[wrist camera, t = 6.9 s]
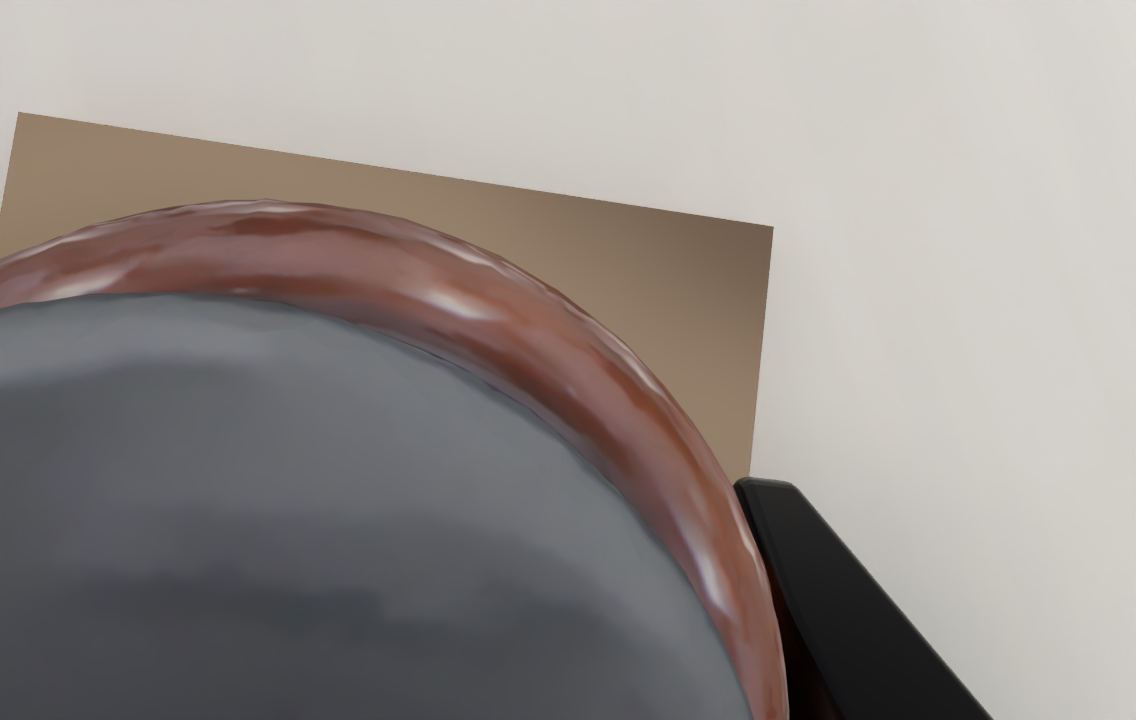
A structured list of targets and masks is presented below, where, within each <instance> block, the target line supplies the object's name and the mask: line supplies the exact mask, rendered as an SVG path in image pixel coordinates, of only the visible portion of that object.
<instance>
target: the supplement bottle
mask: <svg viewBox="0 0 1136 720" xmlns="http://www.w3.org/2000/svg"><path fill="white" fill-rule="evenodd" d="M0 720H789V703H788V692H787V681H786V670H785V662H784V655H783V648H782V641H781V635H780V630H779V625H778V620H777V617H776V613H775V610H774V606H773V600H772V594H771V588H770V582H769V579H768V576H767V572H766V569H765V565H764V562H763V560H762V557H761V555H760V552H759V550H758V548H757V545H756V543H755V540H754V538H753V536H752V533H751V531H750V528H749V526H748V523H747V520H746V518H745V515H744V513H743V510H742V508H741V505H740V503H739V500H738V498H737V495H736V493H735V490H734V488H733V486H732V485H731V483H730V481H729V479H728V478H727V476H726V474H725V473H724V471H723V469H722V468H721V466H720V464H719V463H718V461H717V459H716V458H715V456H714V454H713V452H712V450H711V449H710V447H709V446H708V444H707V443H706V441H705V440H704V438H703V436H702V435H701V433H700V432H699V430H698V429H697V427H696V426H695V424H694V423H693V422H692V420H691V419H690V418H689V416H688V415H687V414H686V413H685V411H684V410H683V409H682V407H681V406H680V405H679V404H678V402H677V401H676V400H675V399H674V397H673V396H672V395H671V393H670V392H669V391H668V390H667V388H666V387H665V386H664V385H663V384H662V382H661V381H660V380H659V379H658V378H657V377H656V376H655V375H654V374H653V372H652V371H651V370H650V369H649V368H648V367H647V366H646V365H645V364H644V363H643V361H642V360H641V359H640V358H639V357H638V356H637V355H636V354H635V353H634V352H633V350H632V349H631V348H630V347H629V346H628V345H627V344H626V343H625V342H624V341H623V340H622V339H620V338H619V337H618V336H617V335H615V334H614V333H613V332H612V331H610V330H609V329H608V328H607V327H605V326H604V325H603V324H602V323H600V322H599V321H598V320H597V319H595V318H594V317H593V316H592V315H590V314H589V313H588V312H586V311H585V310H584V309H582V308H581V307H579V306H578V305H577V304H575V303H574V302H573V301H572V300H570V299H569V298H568V297H566V296H565V295H564V294H563V293H561V292H560V291H559V290H557V289H556V288H554V287H552V286H550V285H548V284H547V283H545V282H543V281H542V280H540V279H538V278H537V277H535V276H533V275H532V274H530V273H528V272H527V271H525V270H523V269H522V268H520V267H518V266H517V265H515V264H513V263H512V262H510V261H508V260H507V259H505V258H503V257H502V256H500V255H498V254H495V253H493V252H490V251H488V250H486V249H483V248H481V247H478V246H476V245H473V244H471V243H469V242H466V241H464V240H461V239H459V238H457V237H454V236H451V235H449V234H446V233H443V232H440V231H438V230H435V229H432V228H429V227H427V226H424V225H421V224H419V223H416V222H413V221H410V220H408V219H405V218H400V217H396V216H391V215H386V214H381V213H377V212H372V211H367V210H360V209H353V208H345V207H338V206H333V205H327V204H321V203H300V202H287V201H280V200H273V199H266V198H264V199H260V200H221V201H213V202H206V203H199V204H191V205H182V206H173V207H168V208H162V209H157V210H151V211H147V212H143V213H138V214H134V215H130V216H126V217H122V218H118V219H113V220H109V221H105V222H100V223H96V224H91V225H89V226H86V227H84V228H81V229H79V230H76V231H74V232H72V233H69V234H67V235H62V236H58V237H56V238H54V239H51V240H49V241H47V242H44V243H42V244H40V245H37V246H34V247H31V248H27V249H24V250H21V251H18V252H16V253H13V254H11V255H8V256H6V257H4V258H2V259H0Z"/></svg>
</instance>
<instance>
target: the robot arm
mask: <svg viewBox="0 0 1136 720" xmlns="http://www.w3.org/2000/svg"><path fill="white" fill-rule="evenodd" d="M733 488H734V490H735V493H736V495H737V498H738V500H739V503H740V505H741V508H742V510H743V513H744V515H745V518H746V520H747V523H748V526H749V528H750V531H751V533H752V536H753V538H754V540H755V543H756V545H757V548H758V550H759V552H760V555H761V557H762V560H763V562H764V565H765V569H766V572H767V576H768V579H769V582H770V588H771V594H772V600H773V606H774V610H775V613H776V617H777V620H778V625H779V630H780V635H781V641H782V648H783V655H784V662H785V670H786V681H787V692H788V703H789V720H994V719H993V718H992V717H991V716H990V715H989V714H988V712H987V711H986V710H985V709H984V708H983V706H982V705H981V704H980V703H979V702H978V701H977V699H976V698H975V697H974V696H973V695H972V693H971V692H970V691H969V690H968V689H967V688H966V686H965V685H964V684H963V683H962V682H961V680H960V679H959V678H958V677H957V676H956V675H955V673H954V672H953V671H952V670H951V669H950V667H949V666H948V665H947V664H946V663H945V662H944V660H943V659H942V658H941V657H940V656H939V654H938V653H937V652H936V651H935V650H934V649H933V647H932V646H931V645H930V644H929V643H928V641H927V640H926V639H925V638H924V637H923V636H922V634H921V633H920V632H919V631H918V630H917V628H916V627H915V626H914V625H913V624H912V623H911V621H910V620H909V619H908V618H907V617H906V615H905V614H904V613H903V612H902V611H901V610H900V608H899V607H898V606H897V605H896V604H895V602H894V601H893V600H892V599H891V598H890V597H889V595H888V594H887V593H886V592H885V591H884V589H883V588H882V587H881V586H880V585H879V584H878V582H877V581H876V580H875V579H874V578H873V576H872V575H871V574H870V573H869V572H868V571H867V569H866V568H865V567H864V566H863V565H862V563H861V562H860V561H859V560H858V559H857V558H856V556H855V555H854V554H853V553H852V552H851V550H850V549H849V548H848V547H847V546H846V545H845V543H844V542H843V541H842V540H841V539H840V537H839V536H838V535H837V534H836V533H835V532H834V530H833V529H832V528H831V527H830V526H829V524H828V523H827V522H826V521H825V520H824V519H823V517H822V516H821V515H820V514H819V513H818V511H817V510H816V509H815V508H814V507H813V506H812V504H811V503H810V502H809V501H808V500H807V498H806V497H805V496H804V495H803V494H802V493H801V491H800V490H799V489H798V488H797V487H795V486H794V485H793V484H791V483H788V482H785V481H779V480H771V479H762V478H754V477H743V478H740V479H738V480H737V481H736V482H735V483H734V484H733Z"/></svg>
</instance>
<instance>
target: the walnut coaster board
mask: <svg viewBox="0 0 1136 720" xmlns="http://www.w3.org/2000/svg"><path fill="white" fill-rule="evenodd" d="M264 198H266V199H273V200H280V201H287V202H300V203H321V204H327V205H333V206H338V207H345V208H353V209H360V210H367V211H372V212H377V213H381V214H386V215H391V216H396V217H400V218H405V219H408V220H410V221H413V222H416V223H419V224H421V225H424V226H427V227H429V228H432V229H435V230H438V231H440V232H443V233H446V234H449V235H451V236H454V237H457V238H459V239H461V240H464V241H466V242H469V243H471V244H473V245H476V246H478V247H481V248H483V249H486V250H488V251H490V252H493V253H495V254H498V255H500V256H502V257H503V258H505V259H507V260H508V261H510V262H512V263H513V264H515V265H517V266H518V267H520V268H522V269H523V270H525V271H527V272H528V273H530V274H532V275H533V276H535V277H537V278H538V279H540V280H542V281H543V282H545V283H547V284H548V285H550V286H552V287H554V288H556V289H557V290H559V291H560V292H561V293H563V294H564V295H565V296H566V297H568V298H569V299H570V300H572V301H573V302H574V303H575V304H577V305H578V306H579V307H581V308H582V309H584V310H585V311H586V312H588V313H589V314H590V315H592V316H593V317H594V318H595V319H597V320H598V321H599V322H600V323H602V324H603V325H604V326H605V327H607V328H608V329H609V330H610V331H612V332H613V333H614V334H615V335H617V336H618V337H619V338H620V339H622V340H623V341H624V342H625V343H626V344H627V345H628V346H629V347H630V348H631V349H632V350H633V352H634V353H635V354H636V355H637V356H638V357H639V358H640V359H641V360H642V361H643V363H644V364H645V365H646V366H647V367H648V368H649V369H650V370H651V371H652V372H653V374H654V375H655V376H656V377H657V378H658V379H659V380H660V381H661V382H662V384H663V385H664V386H665V387H666V388H667V390H668V391H669V392H670V393H671V395H672V396H673V397H674V399H675V400H676V401H677V402H678V404H679V405H680V406H681V407H682V409H683V410H684V411H685V413H686V414H687V415H688V416H689V418H690V419H691V420H692V422H693V423H694V424H695V426H696V427H697V429H698V430H699V432H700V433H701V435H702V436H703V438H704V440H705V441H706V443H707V444H708V446H709V447H710V449H711V450H712V452H713V454H714V456H715V458H716V459H717V461H718V463H719V464H720V466H721V468H722V469H723V471H724V473H725V474H726V476H727V478H728V479H729V481H730V483H731V485H732V486H733V484H734V483H735V482H736V481H737V480H738V479H740V478H743V477H749V471H750V461H751V451H752V440H753V430H754V420H755V410H756V400H757V390H758V380H759V370H760V360H761V349H762V339H763V329H764V319H765V309H766V299H767V289H768V279H769V268H770V258H771V248H772V238H773V228H774V227H772V226H765V225H759V224H752V223H745V222H739V221H732V220H726V219H719V218H713V217H706V216H699V215H693V214H686V213H680V212H673V211H667V210H660V209H653V208H647V207H640V206H634V205H627V204H621V203H614V202H607V201H601V200H594V199H588V198H581V197H575V196H568V195H561V194H555V193H548V192H542V191H535V190H528V189H522V188H515V187H509V186H502V185H496V184H489V183H482V182H476V181H469V180H463V179H456V178H450V177H443V176H436V175H430V174H423V173H417V172H410V171H404V170H397V169H390V168H384V167H377V166H371V165H364V164H358V163H351V162H344V161H338V160H331V159H325V158H318V157H311V156H305V155H298V154H292V153H285V152H279V151H272V150H265V149H259V148H252V147H246V146H239V145H233V144H226V143H219V142H213V141H206V140H200V139H193V138H187V137H180V136H173V135H167V134H160V133H154V132H147V131H141V130H134V129H127V128H121V127H114V126H108V125H101V124H94V123H88V122H81V121H75V120H68V119H62V118H55V117H48V116H42V115H35V114H29V113H22V112H18V117H17V123H16V129H15V134H14V140H13V145H12V151H11V157H10V162H9V168H8V173H7V179H6V185H5V190H4V196H3V201H2V207H1V213H0V259H2V258H4V257H6V256H8V255H11V254H13V253H16V252H18V251H21V250H24V249H27V248H31V247H34V246H37V245H40V244H42V243H44V242H47V241H49V240H51V239H54V238H56V237H58V236H62V235H67V234H69V233H72V232H74V231H76V230H79V229H81V228H84V227H86V226H89V225H91V224H96V223H100V222H105V221H109V220H113V219H118V218H122V217H126V216H130V215H134V214H138V213H143V212H147V211H151V210H157V209H162V208H168V207H173V206H182V205H191V204H199V203H206V202H213V201H221V200H260V199H264Z"/></svg>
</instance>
